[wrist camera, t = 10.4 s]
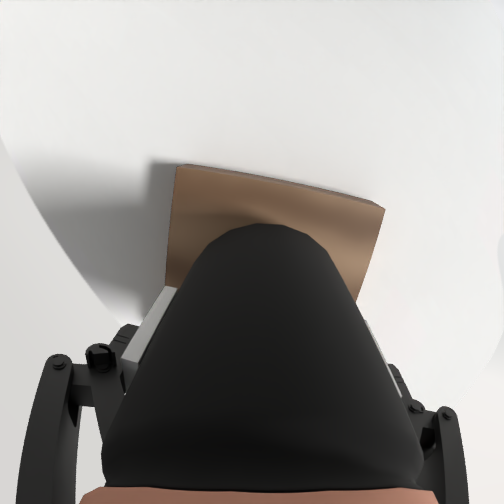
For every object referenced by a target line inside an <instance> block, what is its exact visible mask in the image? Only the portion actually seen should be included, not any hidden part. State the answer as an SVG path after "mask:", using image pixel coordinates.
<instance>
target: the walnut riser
mask: <svg viewBox="0 0 504 504" xmlns="http://www.w3.org/2000/svg"><path fill="white" fill-rule="evenodd" d="M384 213H385V209H384V208H383V207H381V206H379V205H377V204H376V203H374V202H372V201H369V200H365V199H361V198H358V197H354V196H350V195H346V194H342V193H337V192H333V191H329V190H325V189H320V188H316V187H312V186H307V185H303V184H298V183H293V182H288V181H284V180H279V179H274V178H269V177H263V176H258V175H253V174H247V173H242V172H236V171H230V170H224V169H218V168H212V167H205V166H199V165H192V164H185V165H181V166H178V167H177V169H176V176H175V184H174V191H173V200H172V208H171V217H170V227H169V238H168V249H167V261H166V276H165V286H169V287H174V288H178V290H177V293H178V291H179V289H180V287H181V285H182V283H183V281H184V280H185V278H186V276H187V274H188V272H189V271H190V269H191V267H192V265H193V263H194V262H195V260H196V259H197V258H198V257H199V255H200V254H201V253H202V251H203V250H204V249H205V248H206V246H207V245H208V244H209V243H210V242H212V241H213V240H215V239H217V238H218V237H220V236H221V235H223V234H224V233H226V232H227V231H229V230H231V229H235V228H239V227H243V226H247V225H251V224H255V223H262V224H279V225H285V226H288V227H290V228H293V229H295V230H298V231H301V232H303V233H306V234H308V235H309V236H310V237H311V238H313V239H314V240H315V241H316V242H317V243H319V244H320V245H321V246H322V247H323V248H324V249H326V250H327V252H328V254H329V255H330V257H331V259H332V261H333V262H334V264H335V266H336V268H337V269H338V271H339V273H340V275H341V277H342V279H343V280H344V282H345V284H346V286H347V288H348V290H349V292H350V294H351V296H352V297H353V299H354V301H355V303H356V300H357V297H358V294H359V292H360V289H361V286H362V283H363V280H364V278H365V275H366V272H367V269H368V266H369V263H370V260H371V256H372V253H373V250H374V247H375V244H376V240H377V237H378V234H379V230H380V227H381V224H382V220H383V216H384Z"/></svg>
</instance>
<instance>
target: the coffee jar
mask: <svg viewBox="0 0 504 504" xmlns="http://www.w3.org/2000/svg"><path fill="white" fill-rule="evenodd" d="M101 459H102V470H103V474H104V477H105V479H106V483H105V486H104V487H98V488H96V489H95V490H93V491H91V492H89V493H87V494H85V495H84V496H83V497H82V499H81V501H80V503H79V504H439V503H438V501H437V499H436V497H435V495H434V493H433V492H432V491H426V490H424V489H423V488H422V487H420V486H418V485H417V484H416V481H417V479H418V476H419V474H420V472H421V470H422V467H423V465H424V456H423V451H422V448H421V446H420V443H419V441H418V438H417V436H416V433H415V431H414V428H413V426H412V423H411V421H410V418H409V416H408V414H407V411H406V409H405V407H404V404H403V402H402V400H401V397H400V395H399V393H398V390H397V388H396V386H395V384H394V382H393V379H392V377H391V375H390V373H389V371H388V368H387V366H386V364H385V362H384V360H383V358H382V356H381V354H380V351H379V349H378V347H377V345H376V343H375V341H374V339H373V337H372V335H371V333H370V331H369V329H368V327H367V325H366V323H365V321H364V319H363V317H362V315H361V313H360V311H359V309H358V307H357V305H356V303H355V301H354V299H353V297H352V296H351V294H350V292H349V290H348V288H347V286H346V284H345V282H344V280H343V279H342V277H341V275H340V273H339V271H338V269H337V268H336V266H335V264H334V262H333V261H332V259H331V257H330V255H329V254H328V252H327V250H326V249H324V248H323V247H322V246H321V245H320V244H319V243H317V242H316V241H315V240H314V239H313V238H311V237H310V236H309V235H308V234H306V233H303V232H301V231H298V230H295V229H293V228H290V227H288V226H285V225H279V224H262V223H255V224H251V225H247V226H243V227H239V228H235V229H231V230H229V231H227V232H226V233H224V234H223V235H221V236H220V237H218V238H217V239H215V240H213V241H212V242H210V243H209V244H208V245H207V246H206V248H205V249H204V250H203V251H202V253H201V254H200V255H199V257H198V258H197V259H196V260H195V262H194V263H193V265H192V267H191V269H190V271H189V272H188V274H187V276H186V278H185V280H184V281H183V283H182V285H181V287H180V289H179V291H178V293H177V294H176V296H175V298H174V300H173V302H172V304H171V306H170V307H169V309H168V311H167V313H166V315H165V317H164V319H163V321H162V323H161V324H160V326H159V328H158V330H157V332H156V334H155V336H154V338H153V340H152V342H151V344H150V346H149V348H148V350H147V352H146V354H145V356H144V358H143V360H142V362H141V364H140V366H139V368H138V370H137V372H136V374H135V376H134V378H133V380H132V382H131V384H130V386H129V388H128V390H127V392H126V394H125V396H124V398H123V400H122V403H121V405H120V407H119V409H118V411H117V413H116V415H115V417H114V420H113V422H112V424H111V426H110V428H109V430H108V433H107V435H106V437H105V439H104V442H103V445H102V452H101Z"/></svg>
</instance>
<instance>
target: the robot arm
mask: <svg viewBox="0 0 504 504" xmlns="http://www.w3.org/2000/svg"><path fill="white" fill-rule="evenodd" d="M177 290H178V288H174V287H169V286H165V287H164V288H163V290H162V291H161V293H160V295H159V296H158V298H157V299H156V301H155V302H154V304H153V306H152V307H151V309H150V310H149V312H148V314H147V315H146V317H145V319H144V320H143V322H142V323H141V325H140V327H139V326H135V325H131V324H126V325H125V326H123V327H122V328H120V330H119V331H118V333H117V334H116V336H115V337H114V338H113V340H112V341H111V343H110V344H109V345H107V344H102V343H98V344H93V345H91V346H90V347H88V349H87V350H86V353H85V355H86V360H87V364H73V363H72V361H71V359H70V358H69V357H68V356H67V355H63V354H55V355H52V356H51V357H49V358H48V359H47V361H46V363H45V366H44V369H43V372H42V376H41V378H40V382H39V385H38V388H37V392H36V395H35V399H34V402H33V406H32V410H31V414H30V418H29V422H28V426H27V431H26V436H25V440H24V446H23V452H22V456H21V463H20V469H19V476H18V485H17V494H16V504H75V489H76V488H75V486H76V463H77V449H78V437H79V428H80V419H81V411H82V406H88V407H95V412H96V416H97V421H98V426H99V430H100V434H101V438H102V442H104V439H105V437H106V435H107V433H108V430H109V428H110V426H111V424H112V422H113V420H114V417H115V415H116V413H117V411H118V409H119V407H120V405H121V403H122V400H123V398H124V396H125V395H124V394H125V393H126V392H127V390H128V388H129V386H130V384H131V382H132V380H133V378H134V376H135V374H136V372H137V370H138V368H139V366H140V364H141V362H142V360H143V358H144V356H145V354H146V352H147V350H148V348H149V346H150V344H151V342H152V340H153V338H154V336H155V334H156V332H157V330H158V328H159V326H160V324H161V323H162V321H163V319H164V317H165V315H166V313H167V311H168V309H169V307H170V306H171V304H172V302H173V300H174V298H175V296H176V294H177ZM364 321H365V323H366V325H367V327H368V329H369V331H370V333H371V335H372V337H373V339H374V341H375V343H376V345H377V347H378V349H379V351H380V354H381V356H382V358H383V360H384V362H385V364H386V366H387V368H388V371H389V373H390V375H391V377H392V379H393V382H394V384H395V386H396V388H397V390H398V393H399V395H400V397H401V400H402V402H403V404H404V407H405V409H406V411H407V414H408V416H409V418H410V421H411V423H412V426H413V428H414V431H415V433H416V436H417V438H418V441H419V443H420V446H421V448H422V451H423V456H424V465H423V467H422V470H421V472H420V474H419V476H418V479H417V481H416V484H417V485H418V486H420V487H422V488H423V489H424V490H426V491H432V492H433V493H434V495H435V497H436V499H437V501H438V503H439V504H469V496H468V483H467V474H466V466H465V458H464V451H463V445H462V439H461V433H460V428H459V423H458V418H457V415H456V413H455V412H454V410H453V409H451V408H449V407H446V406H442V407H440V408H439V409H438V411H437V412H432V411H427V410H425V408H424V406H423V405H422V404H421V403H420V402H419V401H417V400H414V399H412V397H411V395H410V393H409V390H408V388H407V386H406V384H405V383H404V380H403V378H402V376H401V374H400V372H399V370H398V369H397V368H396V367H395V366H394V365H393V364H387V362H386V360H385V358H384V356H383V354H382V352H381V350H380V347H379V345H378V343H377V341H376V339H375V337H374V335H373V333H372V331H371V329H370V327H369V325H368V323H367V321H366V320H364Z"/></svg>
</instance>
